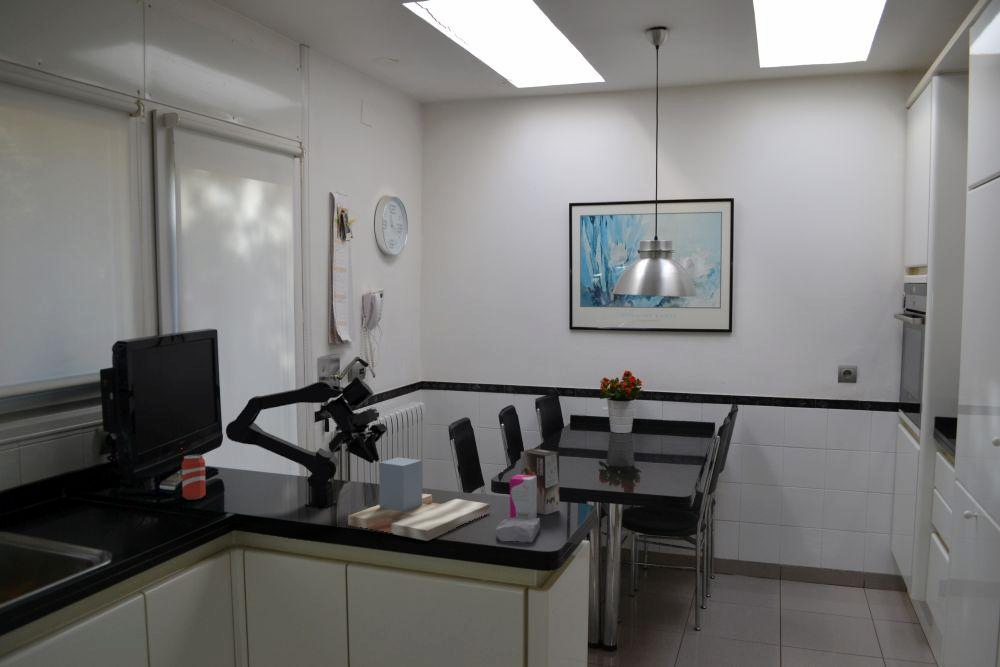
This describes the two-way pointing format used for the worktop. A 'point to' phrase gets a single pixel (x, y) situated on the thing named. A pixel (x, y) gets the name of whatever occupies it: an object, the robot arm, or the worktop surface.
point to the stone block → (518, 529)
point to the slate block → (400, 484)
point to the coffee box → (543, 477)
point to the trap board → (420, 518)
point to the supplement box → (523, 496)
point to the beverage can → (193, 477)
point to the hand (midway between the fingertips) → (375, 461)
